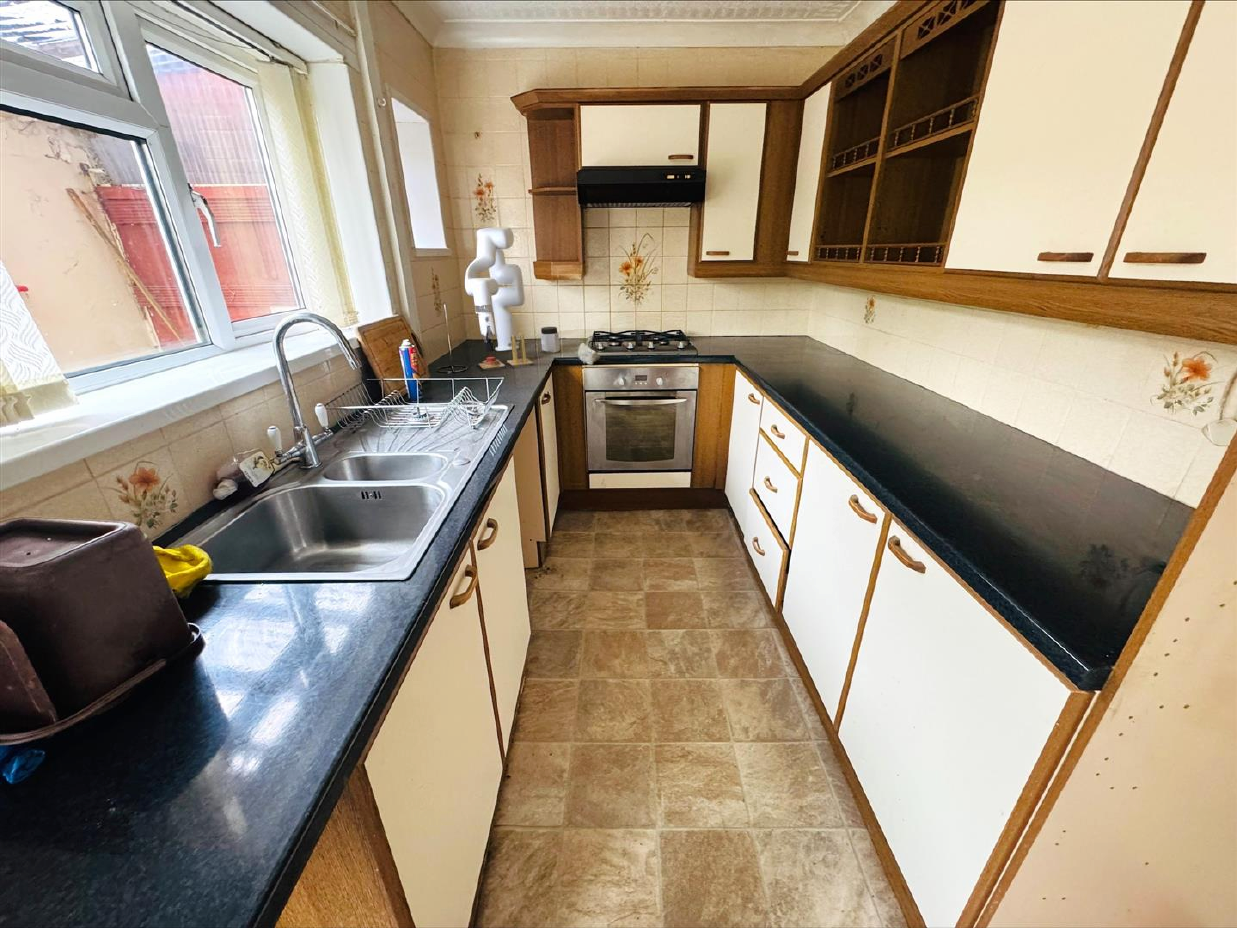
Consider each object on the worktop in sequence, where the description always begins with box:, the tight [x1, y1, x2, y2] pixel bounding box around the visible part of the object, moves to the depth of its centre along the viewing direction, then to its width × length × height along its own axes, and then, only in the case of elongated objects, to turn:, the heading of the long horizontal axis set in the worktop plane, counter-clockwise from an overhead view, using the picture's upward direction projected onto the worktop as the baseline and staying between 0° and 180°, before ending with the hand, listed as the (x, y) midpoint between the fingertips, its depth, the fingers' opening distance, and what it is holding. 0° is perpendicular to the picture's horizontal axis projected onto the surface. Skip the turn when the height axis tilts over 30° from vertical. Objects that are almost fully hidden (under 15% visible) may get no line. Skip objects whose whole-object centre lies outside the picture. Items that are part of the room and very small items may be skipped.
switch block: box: [478, 358, 506, 370], centre depth 233 cm, size 12×10×3 cm
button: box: [485, 356, 496, 362], centre depth 232 cm, size 4×4×2 cm
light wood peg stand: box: [506, 332, 535, 367], centre depth 235 cm, size 12×10×14 cm
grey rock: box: [577, 342, 601, 366], centre depth 232 cm, size 15×7×15 cm
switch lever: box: [508, 334, 521, 346], centre depth 237 cm, size 12×5×2 cm, turn 24°
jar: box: [540, 326, 560, 354], centre depth 261 cm, size 9×8×12 cm
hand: (489, 351), depth 230 cm, fingers closed
